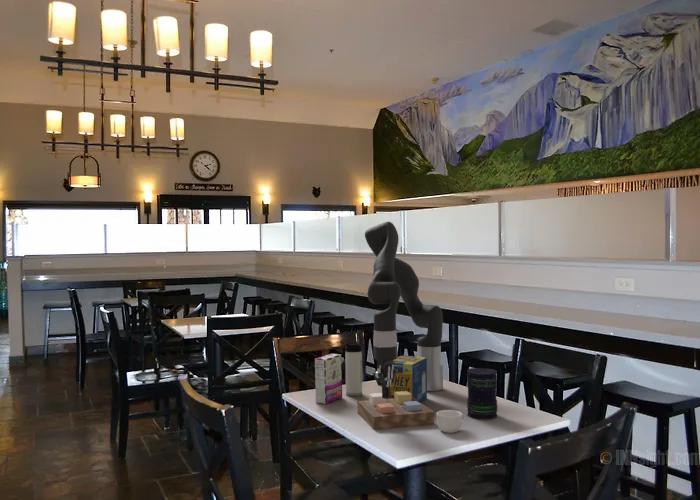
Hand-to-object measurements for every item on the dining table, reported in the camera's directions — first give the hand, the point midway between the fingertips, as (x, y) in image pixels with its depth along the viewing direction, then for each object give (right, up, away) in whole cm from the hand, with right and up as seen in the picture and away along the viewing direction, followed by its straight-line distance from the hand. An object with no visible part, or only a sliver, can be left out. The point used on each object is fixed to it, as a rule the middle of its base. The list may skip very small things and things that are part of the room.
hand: (386, 398), depth 193 cm
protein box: (+9, -8, +27) cm, 29 cm away
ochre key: (+6, -5, +11) cm, 14 cm away
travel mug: (-10, -8, +38) cm, 40 cm away
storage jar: (+32, -8, +8) cm, 34 cm away
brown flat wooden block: (+3, -8, +5) cm, 10 cm away
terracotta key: (0, -6, 0) cm, 6 cm away
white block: (-2, -5, +9) cm, 10 cm away
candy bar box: (-19, -8, +30) cm, 37 cm away
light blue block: (+9, -6, +2) cm, 11 cm away
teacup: (+20, -8, -8) cm, 23 cm away
